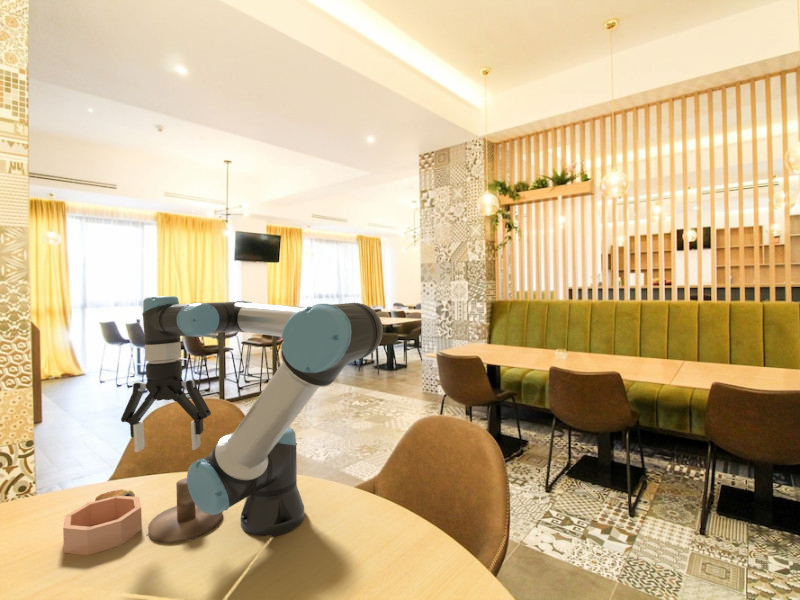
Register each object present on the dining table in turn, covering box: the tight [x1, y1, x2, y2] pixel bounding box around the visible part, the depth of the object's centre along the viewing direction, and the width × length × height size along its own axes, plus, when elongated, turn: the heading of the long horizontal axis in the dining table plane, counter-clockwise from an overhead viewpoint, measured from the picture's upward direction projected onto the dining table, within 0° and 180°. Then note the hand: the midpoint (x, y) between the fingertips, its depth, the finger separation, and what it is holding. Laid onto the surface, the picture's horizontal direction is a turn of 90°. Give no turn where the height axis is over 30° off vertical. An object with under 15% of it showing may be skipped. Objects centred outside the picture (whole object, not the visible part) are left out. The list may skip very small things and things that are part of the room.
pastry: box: [95, 488, 136, 501], centre depth 113 cm, size 9×7×4 cm
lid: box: [147, 477, 223, 544], centre depth 102 cm, size 16×16×10 cm
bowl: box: [62, 496, 143, 556], centre depth 97 cm, size 14×14×6 cm
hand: (168, 449), depth 100 cm, fingers open, 13 cm apart
